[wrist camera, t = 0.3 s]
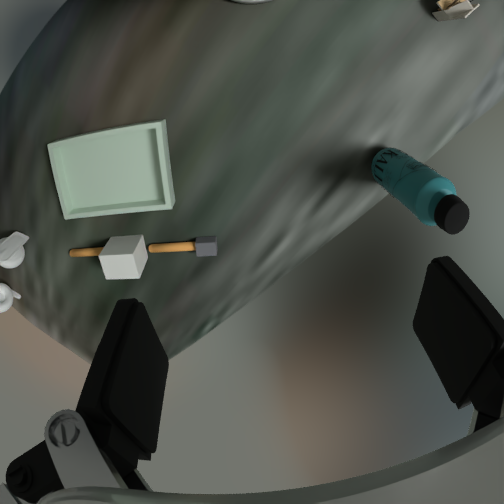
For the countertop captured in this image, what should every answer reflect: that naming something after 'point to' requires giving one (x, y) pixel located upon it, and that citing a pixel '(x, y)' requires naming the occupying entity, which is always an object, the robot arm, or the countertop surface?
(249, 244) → the countertop surface
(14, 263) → the headset
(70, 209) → the tray
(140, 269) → the pale grey cuboid
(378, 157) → the beverage bottle
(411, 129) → the countertop surface
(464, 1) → the architectural model
